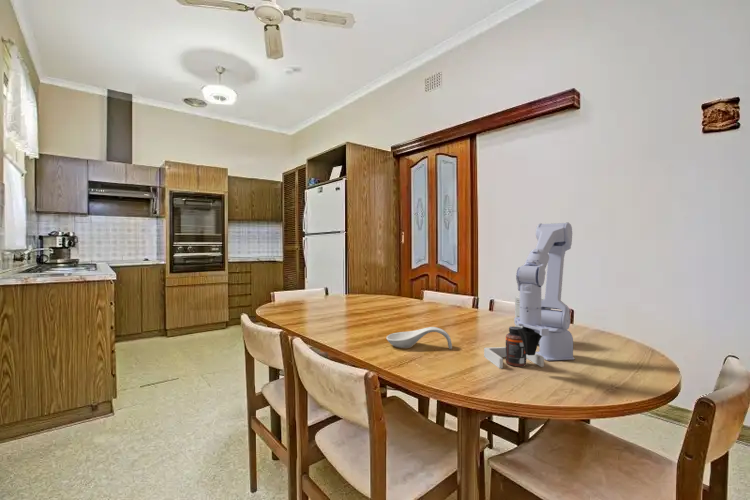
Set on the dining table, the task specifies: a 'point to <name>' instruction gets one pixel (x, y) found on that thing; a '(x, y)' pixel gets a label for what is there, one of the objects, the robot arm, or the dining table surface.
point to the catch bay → (498, 352)
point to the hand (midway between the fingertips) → (530, 354)
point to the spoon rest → (414, 337)
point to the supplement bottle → (515, 348)
